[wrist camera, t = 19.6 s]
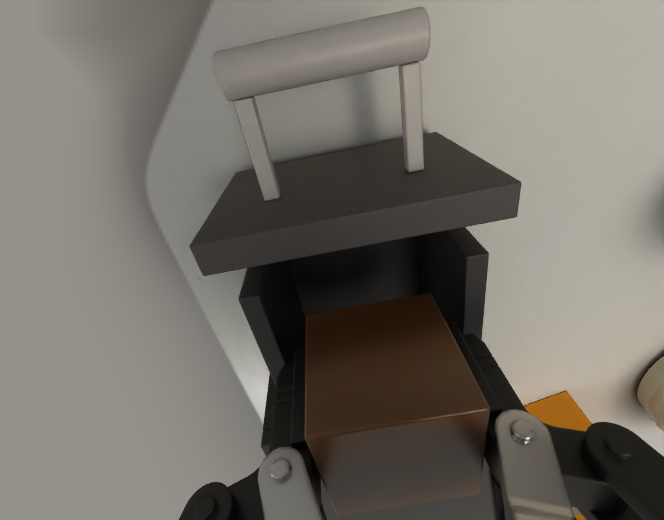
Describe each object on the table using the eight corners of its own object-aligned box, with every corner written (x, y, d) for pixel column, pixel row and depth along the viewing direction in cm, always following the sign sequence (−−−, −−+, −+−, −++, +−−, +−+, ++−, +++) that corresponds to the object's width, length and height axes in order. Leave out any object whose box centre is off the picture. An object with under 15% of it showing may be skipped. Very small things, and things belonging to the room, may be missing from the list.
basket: (198, 63, 14) (102, 68, 8) (435, 11, 14) (550, -31, 7) (293, 341, 23) (287, 453, 17) (438, 316, 23) (490, 420, 16)
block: (305, 314, 12) (303, 439, 8) (431, 291, 11) (491, 407, 8) (328, 392, 14) (336, 517, 10) (433, 374, 14) (480, 495, 10)
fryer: (277, 308, 23) (260, 446, 15) (442, 278, 22) (518, 405, 14) (316, 419, 30) (320, 554, 22) (442, 399, 30) (493, 529, 21)
